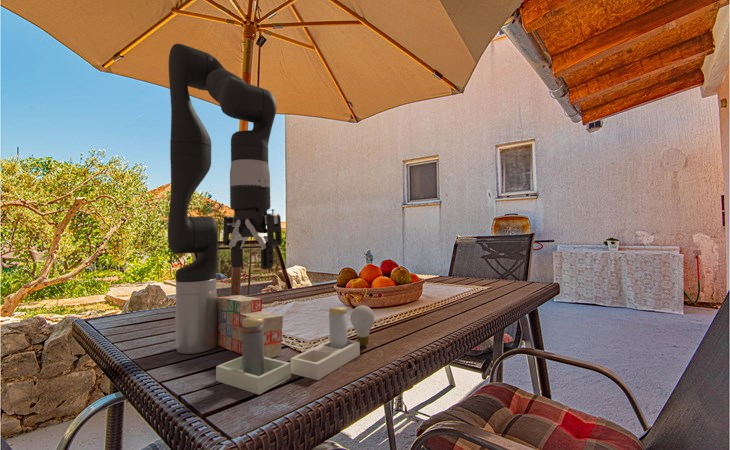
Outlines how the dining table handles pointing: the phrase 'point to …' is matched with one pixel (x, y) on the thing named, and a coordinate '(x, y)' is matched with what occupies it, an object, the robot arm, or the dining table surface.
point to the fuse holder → (323, 359)
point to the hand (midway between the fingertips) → (251, 268)
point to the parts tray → (256, 384)
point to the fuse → (338, 327)
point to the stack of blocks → (230, 324)
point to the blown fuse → (253, 345)
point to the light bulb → (362, 323)
